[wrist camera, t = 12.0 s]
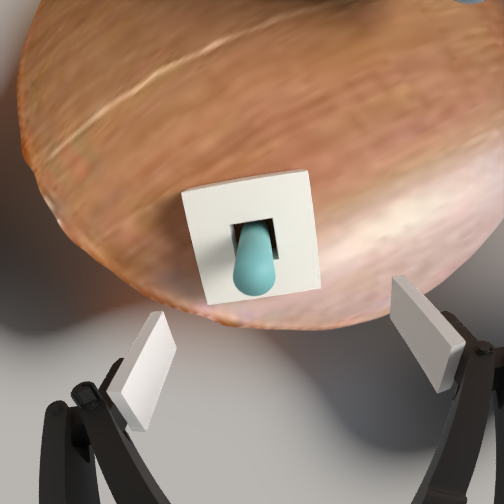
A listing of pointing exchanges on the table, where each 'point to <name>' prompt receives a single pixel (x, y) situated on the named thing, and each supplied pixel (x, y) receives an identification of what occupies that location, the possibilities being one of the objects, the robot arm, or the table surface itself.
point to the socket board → (251, 209)
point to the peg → (254, 260)
